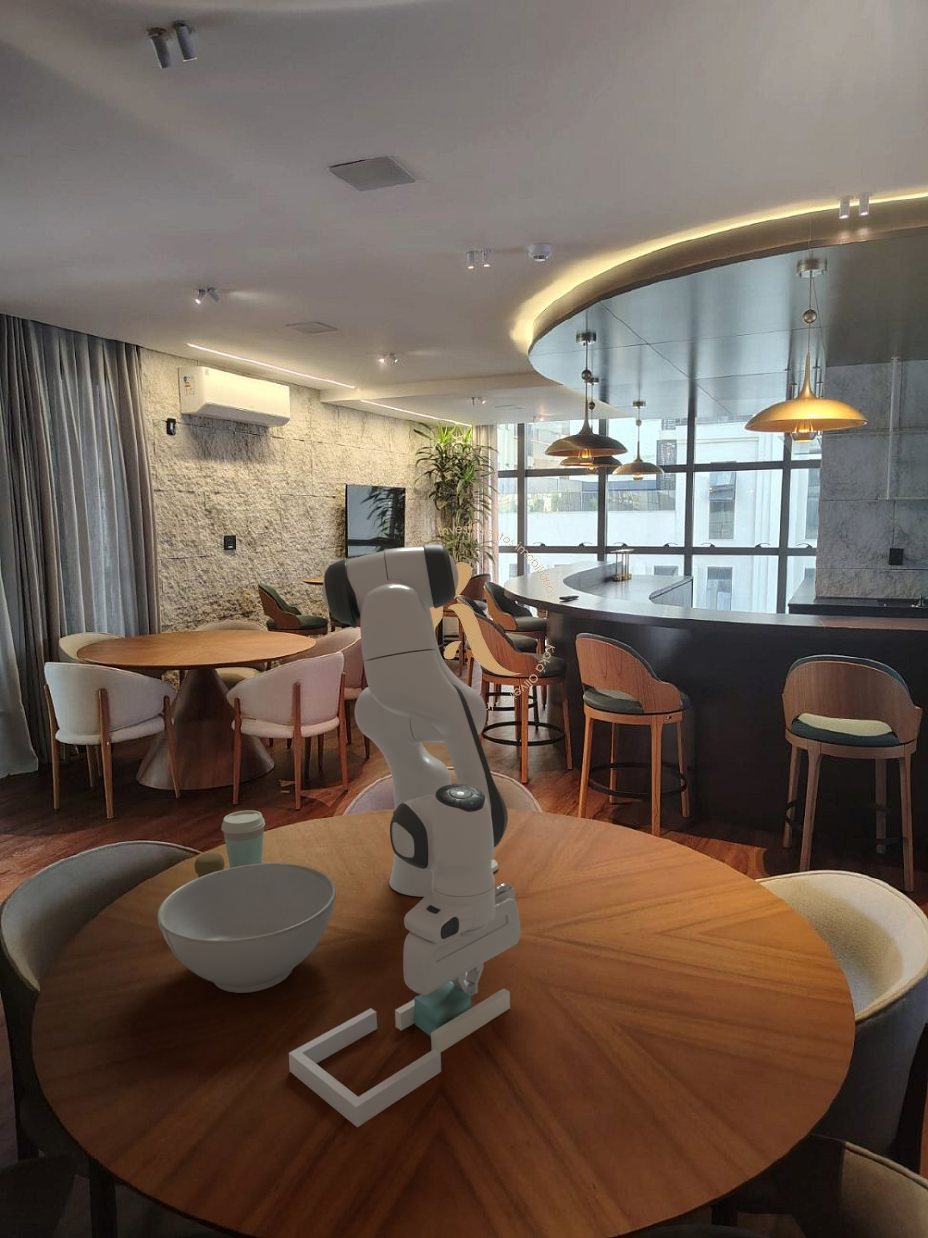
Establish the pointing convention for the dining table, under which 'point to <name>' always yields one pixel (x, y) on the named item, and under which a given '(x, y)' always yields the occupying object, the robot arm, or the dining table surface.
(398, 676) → the robot arm
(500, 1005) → the chute
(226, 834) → the coffee cup
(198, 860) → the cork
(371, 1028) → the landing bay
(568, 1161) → the dining table surface
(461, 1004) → the teal block
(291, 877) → the decorative bowl
